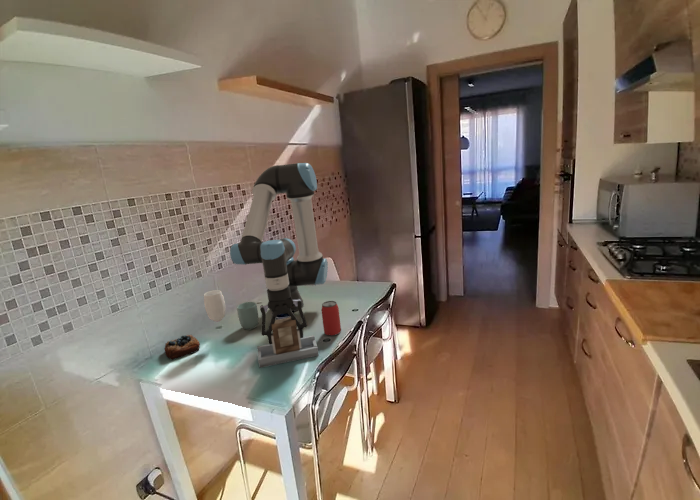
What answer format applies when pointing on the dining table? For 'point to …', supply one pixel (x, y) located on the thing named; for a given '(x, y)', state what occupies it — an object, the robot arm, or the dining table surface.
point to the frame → (285, 335)
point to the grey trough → (269, 358)
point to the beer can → (331, 318)
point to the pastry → (181, 347)
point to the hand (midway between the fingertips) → (287, 349)
